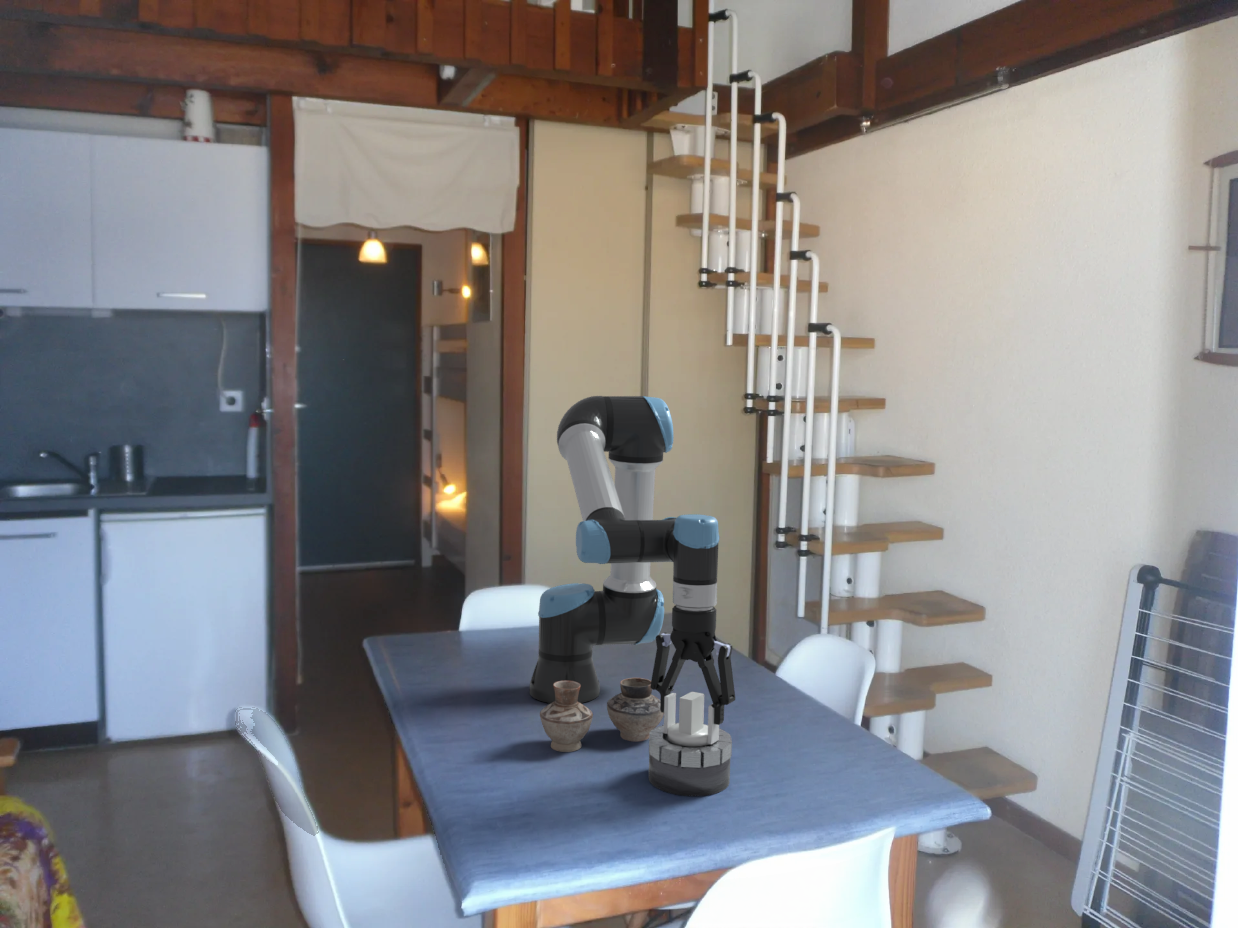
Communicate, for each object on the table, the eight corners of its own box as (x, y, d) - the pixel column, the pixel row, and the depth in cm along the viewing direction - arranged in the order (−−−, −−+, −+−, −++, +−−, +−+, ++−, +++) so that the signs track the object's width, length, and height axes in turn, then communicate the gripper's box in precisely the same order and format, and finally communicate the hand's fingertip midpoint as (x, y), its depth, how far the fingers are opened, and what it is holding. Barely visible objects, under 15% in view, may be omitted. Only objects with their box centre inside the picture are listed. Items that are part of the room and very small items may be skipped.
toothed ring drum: (632, 782, 171) (633, 740, 170) (673, 756, 183) (675, 716, 182) (705, 803, 163) (707, 759, 163) (743, 775, 175) (745, 733, 175)
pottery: (530, 740, 190) (531, 678, 188) (647, 722, 200) (649, 664, 199) (552, 762, 179) (554, 697, 178) (674, 742, 190) (676, 681, 189)
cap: (659, 740, 171) (660, 697, 171) (682, 727, 178) (683, 686, 177) (700, 750, 167) (701, 706, 166) (722, 736, 173) (723, 694, 173)
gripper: (631, 601, 173) (628, 730, 175) (739, 618, 162) (735, 755, 164) (653, 594, 179) (650, 718, 181) (759, 610, 168) (755, 742, 170)
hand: (691, 736), depth 172 cm, fingers closed on cap, 8 cm apart
